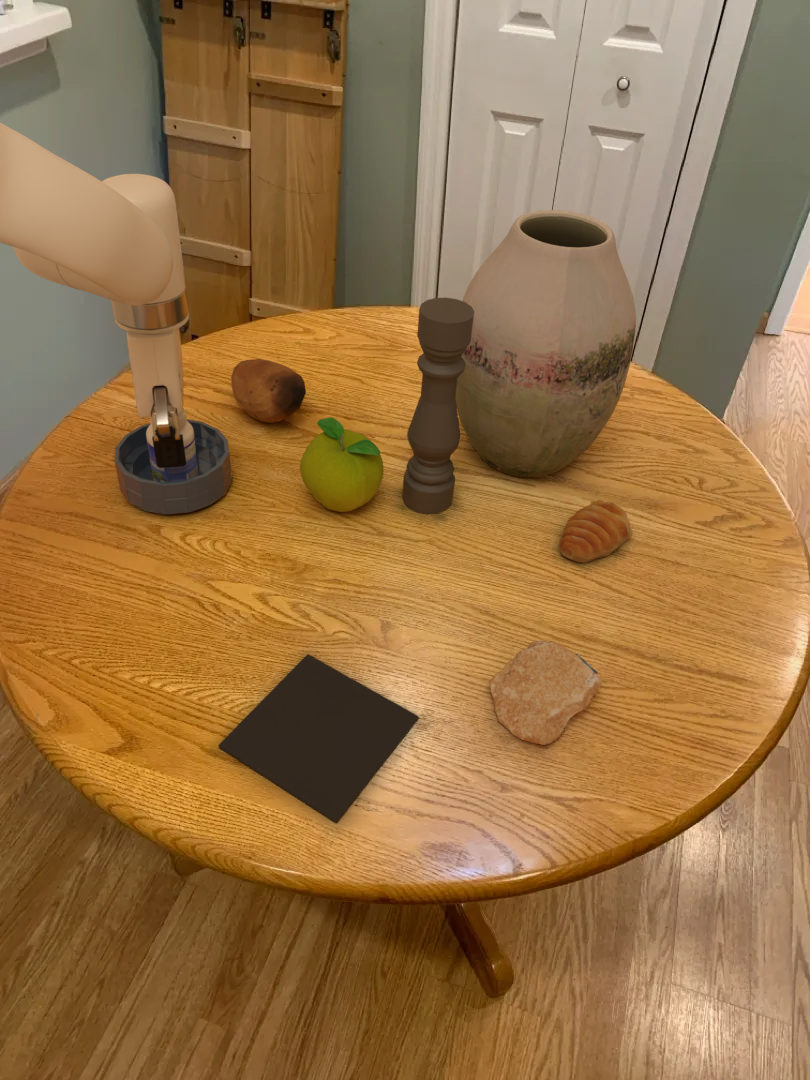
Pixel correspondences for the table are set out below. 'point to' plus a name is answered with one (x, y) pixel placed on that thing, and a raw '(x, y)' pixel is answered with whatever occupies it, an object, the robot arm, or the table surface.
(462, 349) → the candle holder
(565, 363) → the vase
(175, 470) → the pill bottle
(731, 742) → the table surface
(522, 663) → the stone
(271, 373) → the potato
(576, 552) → the pastry
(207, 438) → the bowl
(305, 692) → the mat
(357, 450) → the fruit
